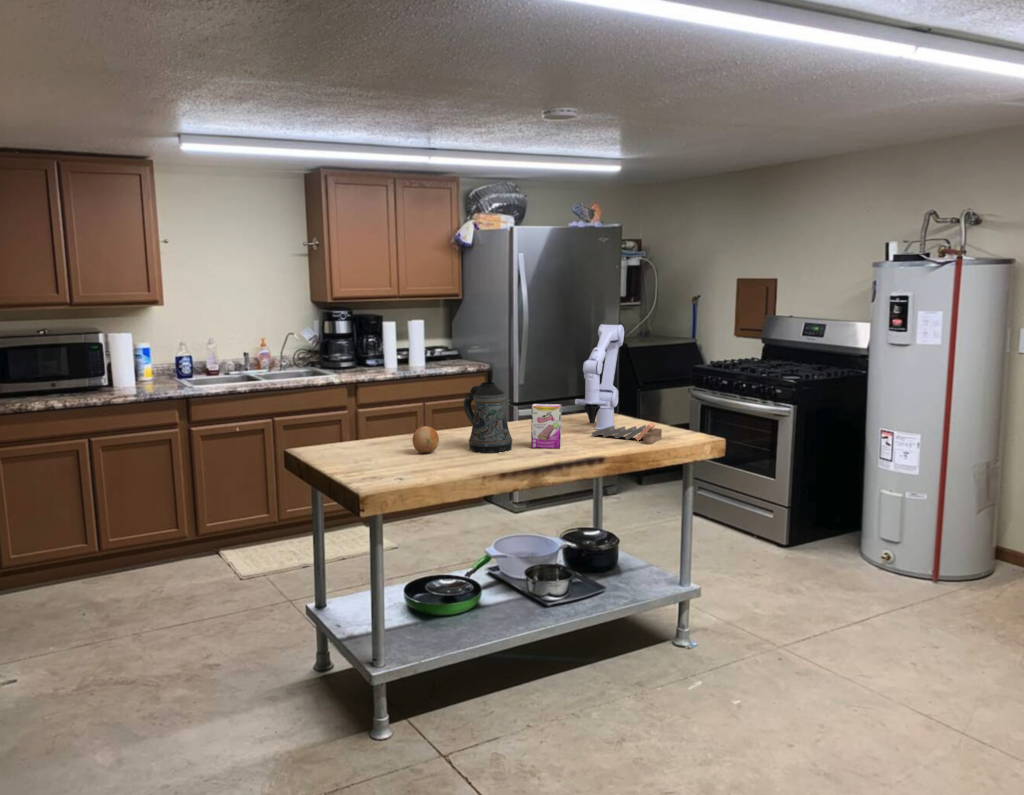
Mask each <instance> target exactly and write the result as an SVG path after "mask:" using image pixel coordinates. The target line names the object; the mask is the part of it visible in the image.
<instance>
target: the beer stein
mask: <svg viewBox="0 0 1024 795" xmlns="http://www.w3.org/2000/svg"><path fill="white" fill-rule="evenodd" d="M506 396H507V395H506V393H505V392H504V391H503V390H502V389H500V388H498V386H497V385H496V384H495V382H493V381H492V382H491V381H489V382H487V381H485V382H481V384H480V385H474V386H472V388H471V389H470V392H469V393H467V394H466V395H465V398H464V399H463V400H464V401H463V410H464V412H465V415H466V418H467V419H468V420H469V422H470V423H471V424H472V425H471V426H472V427H471V432H470V436H469V438H468V444H469V450H470V451H471V450H472V451H471V452H473V451H474V453H477V452H480V454H500V453H499V452H502V453H506V452H505V451H507V452H509V451H511V450H512V446H513V438H512V435H511V433H510V432H511V431H510V429H509V424H508V420H507V412H506V407H505V401H506V399H507V397H506ZM473 401H474V411H473V408H472V402H473Z"/></svg>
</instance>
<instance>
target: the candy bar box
mask: <svg viewBox="0 0 1024 795" xmlns="http://www.w3.org/2000/svg"><path fill="white" fill-rule="evenodd" d="M530 426H531V432H530V434H531V436H530V438H531V439H530V441H531V443H530V444H531V445H530V446H531V448H530V449H551V448H557V449H559V450H560V449H561V447H562V404H555V403H554V404H552V403H551V404H550V403H549V404H547V403H545V404H544V403H533V404H532V405H531V425H530Z"/></svg>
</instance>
